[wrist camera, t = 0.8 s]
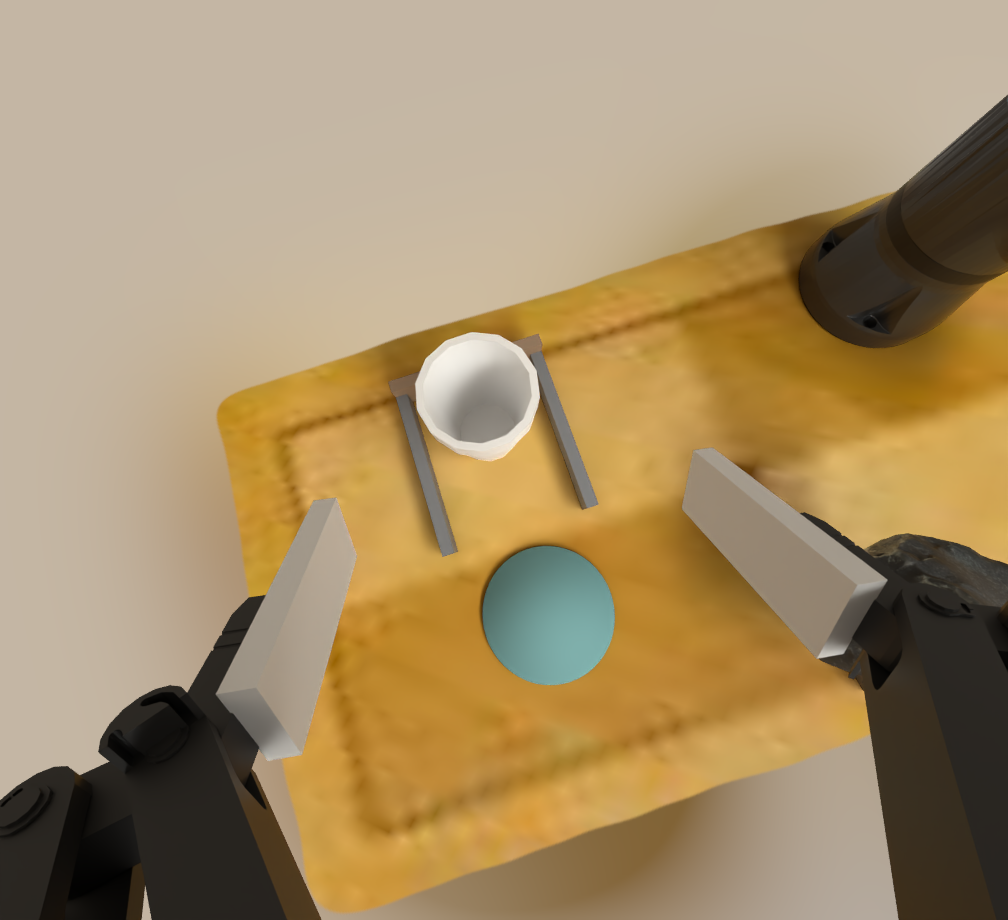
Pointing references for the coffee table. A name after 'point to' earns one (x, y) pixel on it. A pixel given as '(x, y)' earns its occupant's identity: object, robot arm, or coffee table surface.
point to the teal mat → (548, 615)
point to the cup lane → (405, 398)
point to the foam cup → (478, 395)
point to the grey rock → (935, 576)
